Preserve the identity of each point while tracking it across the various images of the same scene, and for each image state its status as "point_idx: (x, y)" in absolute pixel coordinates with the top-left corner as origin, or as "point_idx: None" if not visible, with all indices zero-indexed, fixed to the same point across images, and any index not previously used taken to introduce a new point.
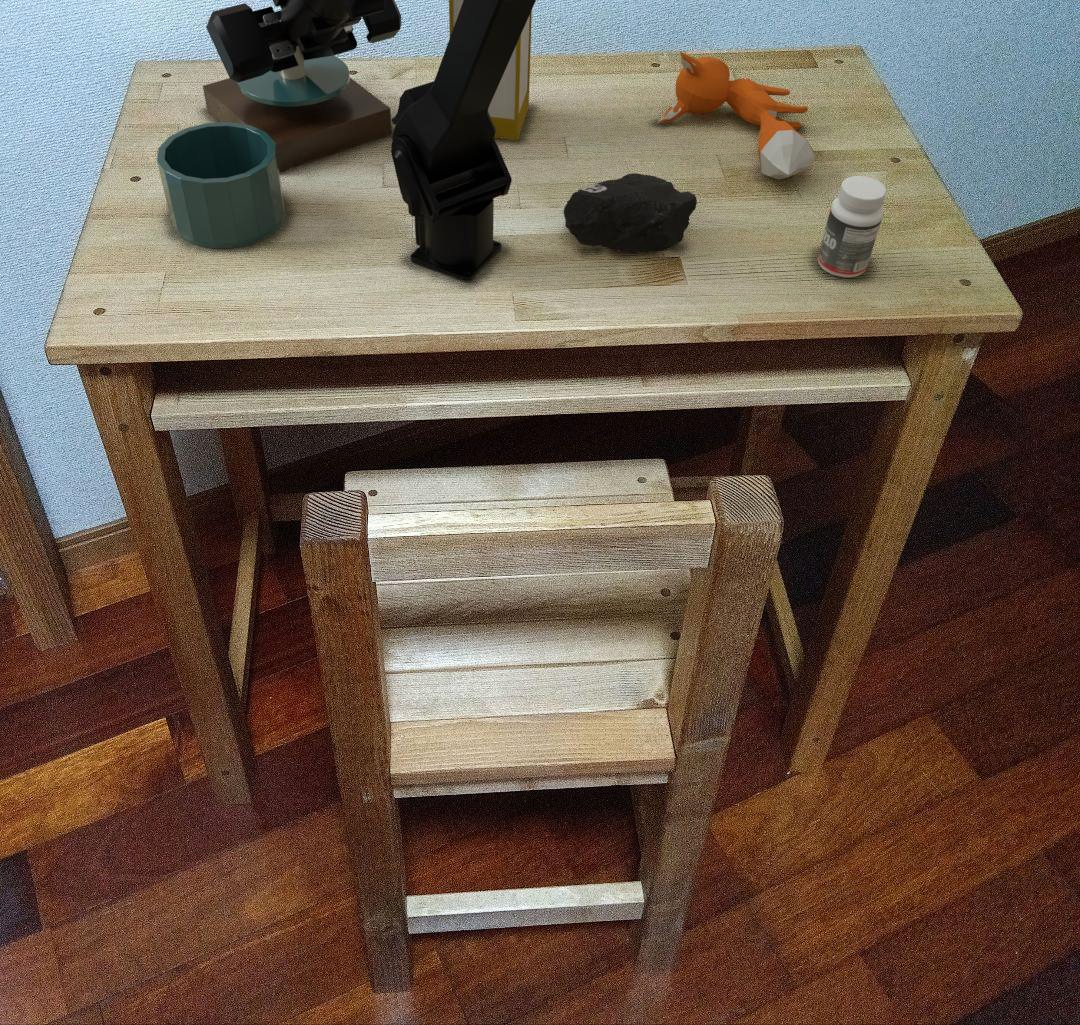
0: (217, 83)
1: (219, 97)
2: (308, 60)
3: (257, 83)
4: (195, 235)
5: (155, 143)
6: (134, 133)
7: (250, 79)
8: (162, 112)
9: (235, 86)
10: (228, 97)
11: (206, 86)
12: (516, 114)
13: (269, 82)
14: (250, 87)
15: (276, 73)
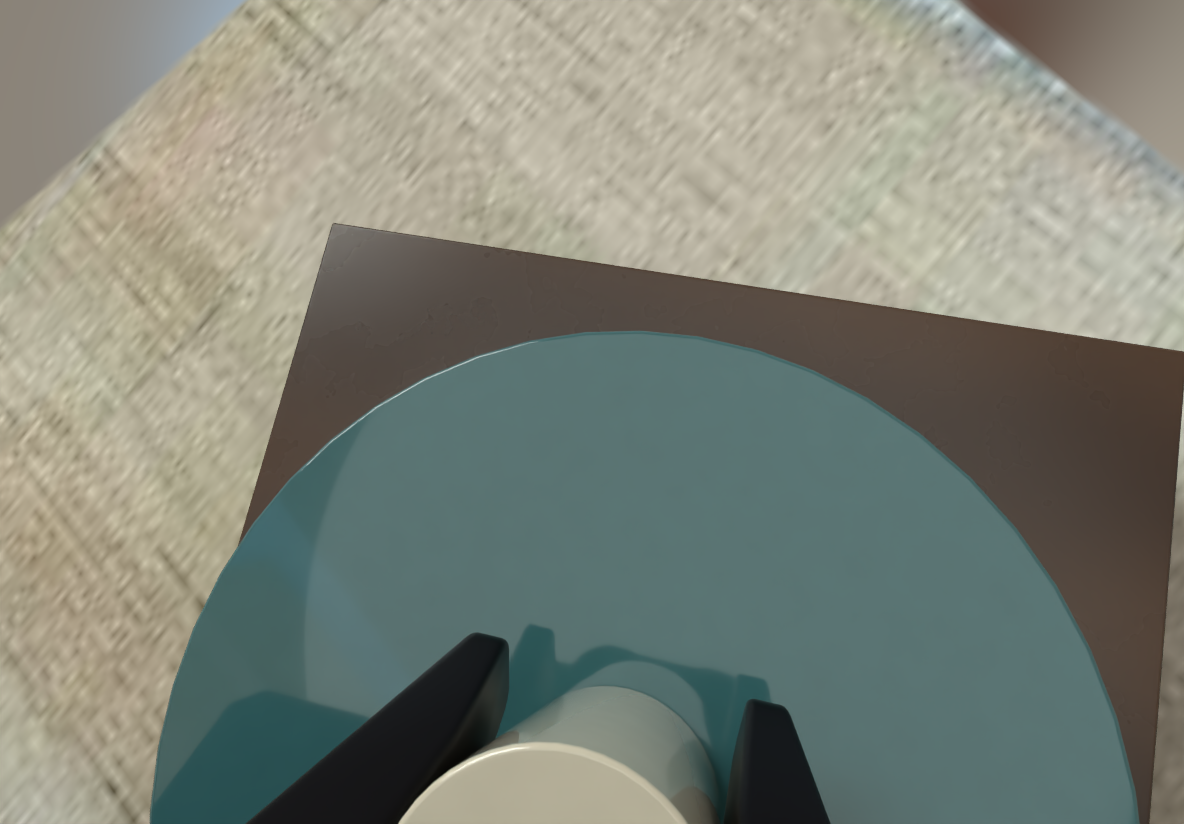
0: (404, 257)
1: (296, 400)
2: (879, 704)
3: (301, 700)
4: None
5: (59, 354)
6: (68, 223)
7: (312, 606)
8: (263, 152)
9: (450, 358)
10: (331, 436)
11: (340, 243)
12: None
13: None
14: (224, 709)
15: (517, 681)
